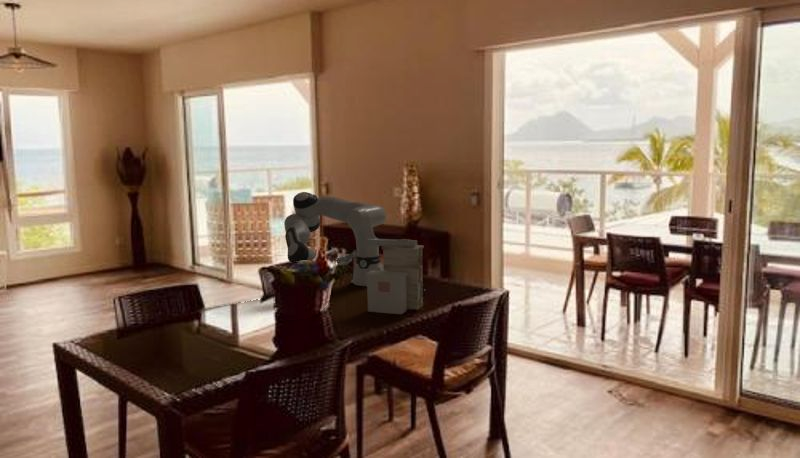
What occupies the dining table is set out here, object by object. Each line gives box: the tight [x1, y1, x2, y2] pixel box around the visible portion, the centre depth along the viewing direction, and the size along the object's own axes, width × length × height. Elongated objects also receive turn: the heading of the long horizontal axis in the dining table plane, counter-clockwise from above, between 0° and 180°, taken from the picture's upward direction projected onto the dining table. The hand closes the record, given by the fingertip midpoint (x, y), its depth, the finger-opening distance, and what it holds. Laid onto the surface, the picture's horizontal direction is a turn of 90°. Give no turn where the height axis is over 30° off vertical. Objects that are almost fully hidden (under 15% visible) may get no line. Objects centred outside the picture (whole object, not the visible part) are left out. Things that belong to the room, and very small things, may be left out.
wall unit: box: [381, 244, 425, 311], centre depth 256 cm, size 8×16×26 cm, turn 70°
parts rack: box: [365, 271, 408, 315], centre depth 250 cm, size 7×16×16 cm, turn 70°
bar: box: [366, 238, 418, 247], centre depth 256 cm, size 22×3×3 cm, turn 70°
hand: (350, 255), depth 264 cm, fingers open, 8 cm apart
